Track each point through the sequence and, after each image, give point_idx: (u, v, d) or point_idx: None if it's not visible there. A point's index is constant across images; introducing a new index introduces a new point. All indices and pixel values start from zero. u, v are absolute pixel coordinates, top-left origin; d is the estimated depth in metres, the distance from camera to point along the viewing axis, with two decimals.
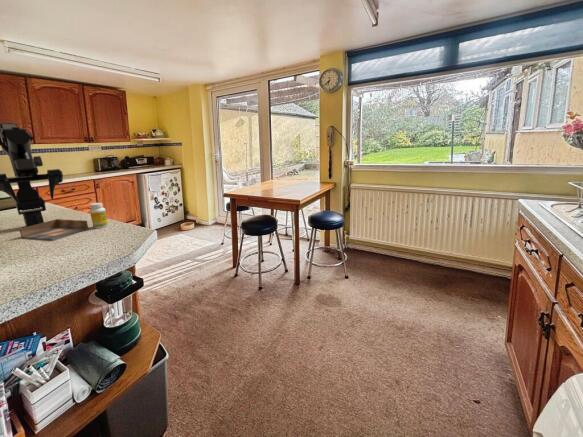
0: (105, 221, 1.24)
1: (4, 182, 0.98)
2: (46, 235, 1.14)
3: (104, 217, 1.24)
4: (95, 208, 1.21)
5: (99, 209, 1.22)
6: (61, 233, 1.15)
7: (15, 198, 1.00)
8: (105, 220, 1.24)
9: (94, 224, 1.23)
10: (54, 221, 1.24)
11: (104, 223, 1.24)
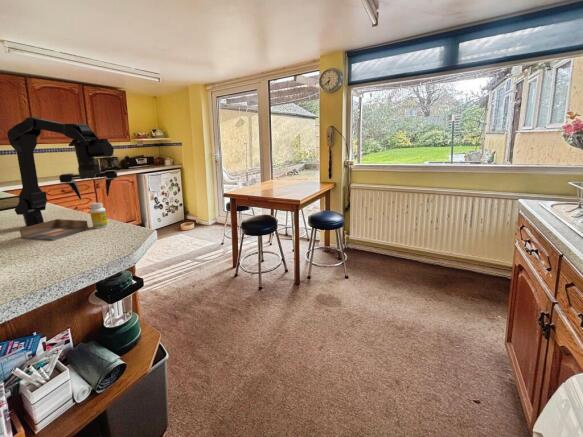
0: (105, 221, 1.24)
1: (70, 183, 1.15)
2: (46, 235, 1.14)
3: (104, 217, 1.24)
4: (95, 208, 1.21)
5: (99, 209, 1.22)
6: (61, 233, 1.15)
7: (78, 196, 1.19)
8: (105, 220, 1.24)
9: (94, 224, 1.23)
10: (54, 221, 1.24)
11: (104, 223, 1.24)
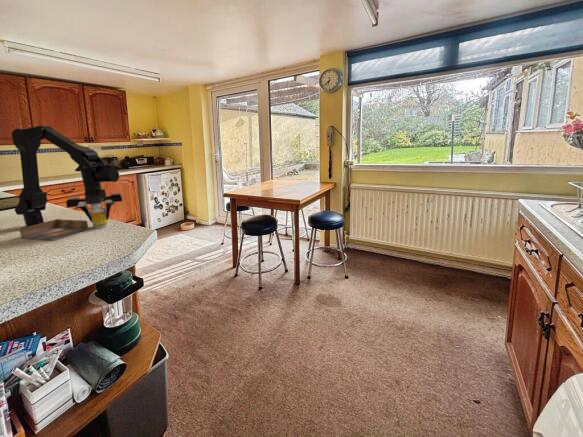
0: (105, 221, 1.24)
1: (82, 207, 1.19)
2: (46, 235, 1.14)
3: (104, 217, 1.24)
4: (95, 208, 1.21)
5: (99, 209, 1.22)
6: (61, 233, 1.15)
7: (90, 218, 1.22)
8: (105, 220, 1.24)
9: (94, 224, 1.23)
10: (54, 221, 1.24)
11: (104, 223, 1.24)
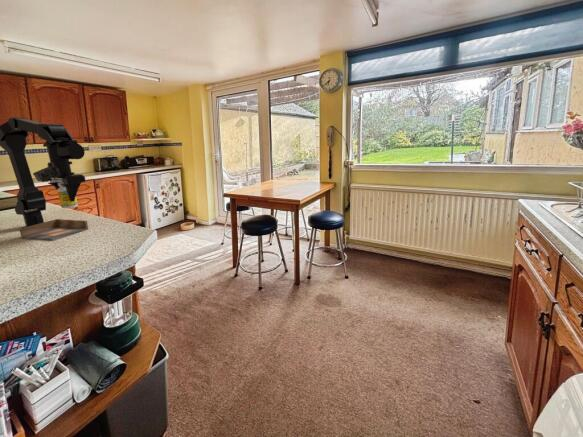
0: (66, 202, 1.15)
1: (50, 183, 1.16)
2: (46, 235, 1.14)
3: (64, 198, 1.15)
4: (59, 186, 1.15)
5: (61, 188, 1.14)
6: (61, 233, 1.15)
7: None
8: (66, 201, 1.15)
9: None
10: (54, 221, 1.24)
11: (64, 204, 1.15)
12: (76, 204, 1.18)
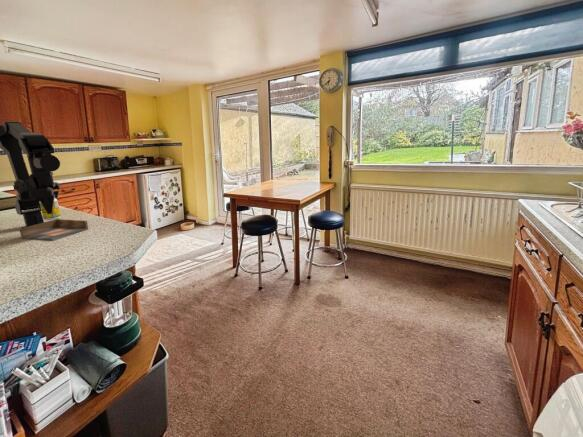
0: (44, 214, 1.13)
1: None
2: (46, 235, 1.14)
3: (43, 210, 1.12)
4: None
5: None
6: (61, 233, 1.15)
7: None
8: (44, 213, 1.13)
9: None
10: (54, 221, 1.24)
11: (43, 216, 1.13)
12: (55, 217, 1.14)
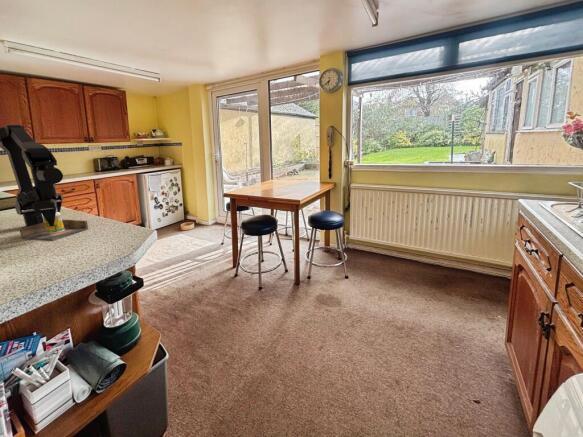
0: (48, 228, 1.14)
1: None
2: (46, 235, 1.14)
3: (46, 224, 1.14)
4: None
5: None
6: (61, 233, 1.15)
7: None
8: (48, 227, 1.14)
9: None
10: None
11: (47, 230, 1.14)
12: (59, 230, 1.16)
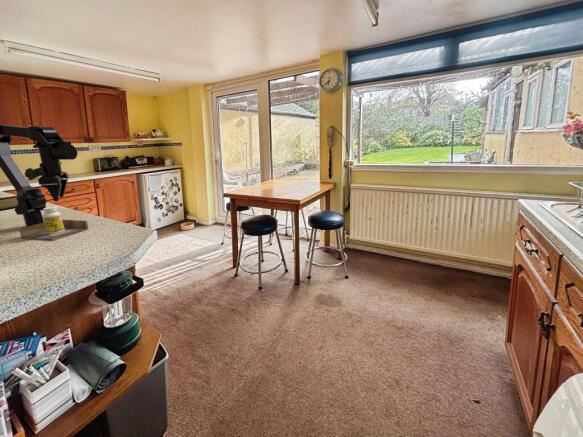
0: (48, 228, 1.14)
1: None
2: (46, 235, 1.14)
3: (46, 224, 1.14)
4: None
5: (44, 214, 1.14)
6: (61, 233, 1.15)
7: None
8: (48, 227, 1.14)
9: None
10: None
11: (47, 230, 1.14)
12: (59, 230, 1.16)
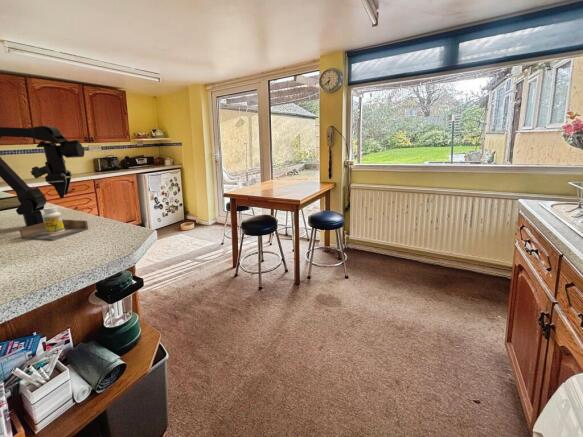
0: (48, 228, 1.14)
1: None
2: (46, 235, 1.14)
3: (46, 224, 1.14)
4: None
5: (44, 214, 1.14)
6: (61, 233, 1.15)
7: None
8: (48, 227, 1.14)
9: None
10: None
11: (47, 230, 1.14)
12: (59, 230, 1.16)
